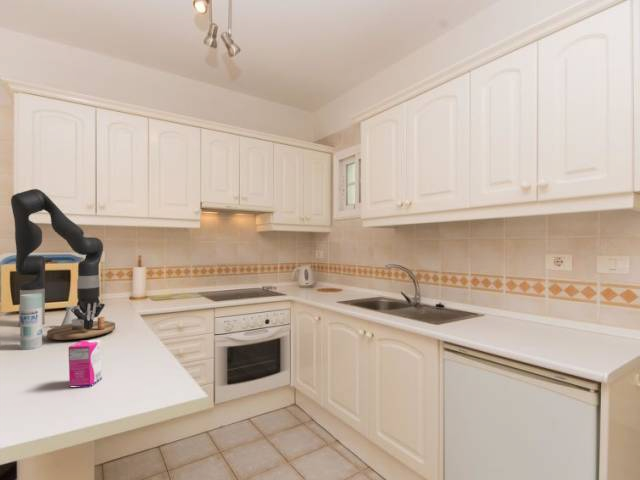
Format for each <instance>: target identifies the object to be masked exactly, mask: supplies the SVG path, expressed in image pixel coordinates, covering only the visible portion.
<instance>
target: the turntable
mask: <svg viewBox="0 0 640 480" xmlns="http://www.w3.org/2000/svg"><path fill="white" fill-rule="evenodd" d="M115 329H116V323H115V322H113V321H108V320H107V321H105V317H104V316H98V317H97V320H95V321H94V320H93V327H92V329H89V330H86V329H82V330H72V324H68V325H63V326H61V325H59V326H56V327H52V328H51V329H48V330H47V331H46V337H47V338H48V339H49V340H57V341H58V340H60V341H63V340H79V338H82V339H86V338H87V337H89V338H93V337H97V336H101V335H105V334H108V333H111V332H113V331H114V330H115ZM87 339H88V338H87Z"/></svg>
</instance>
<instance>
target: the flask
mask: <svg viewBox="0 0 640 480" xmlns="http://www.w3.org/2000/svg"><path fill="white" fill-rule="evenodd" d="M75 307H76V306H75V305H66V306H65V309H66V310H65V315H64V317H63V320H62V322H61V325H60V326H63V325H68V324H72V319H76V318H77V317H76V315H75V314H74V313H73V312H72V311H71V309H72V308H75Z"/></svg>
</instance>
